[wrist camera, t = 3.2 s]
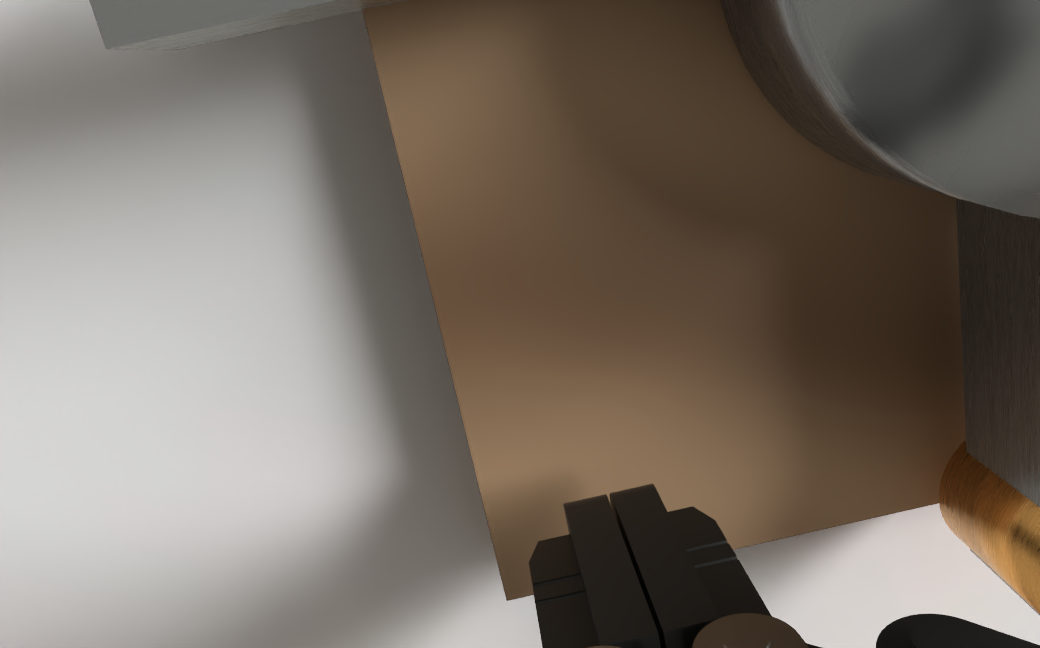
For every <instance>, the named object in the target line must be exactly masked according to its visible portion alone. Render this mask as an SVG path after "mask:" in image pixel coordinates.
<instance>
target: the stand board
mask: <svg viewBox="0 0 1040 648" xmlns="http://www.w3.org/2000/svg"><path fill="white" fill-rule="evenodd" d="M362 11H363V15H364V19H365V23H366V28H367V32H368V36H369V40H370V44H371V48H372V52H373V56H374V60H375V64H376V68H377V72H378V77H379V81H380V85H381V89H382V93H383V97H384V101H385V105H386V109H387V113H388V117H389V122H390V126H391V130H392V134H393V138H394V142H395V146H396V150H397V154H398V158H399V162H400V166H401V171H402V175H403V179H404V183H405V187H406V191H407V195H408V199H409V203H410V207H411V211H412V215H413V220H414V224H415V228H416V232H417V236H418V240H419V244H420V248H421V252H422V256H423V260H424V265H425V269H426V273H427V277H428V281H429V285H430V289H431V293H432V297H433V301H434V305H435V309H436V314H437V318H438V322H439V326H440V330H441V334H442V338H443V342H444V346H445V350H446V354H447V358H448V363H449V367H450V371H451V375H452V379H453V383H454V387H455V391H456V395H457V399H458V403H459V408H460V412H461V416H462V420H463V424H464V428H465V432H466V436H467V440H468V444H469V448H470V452H471V457H472V461H473V465H474V469H475V473H476V477H477V481H478V485H479V489H480V493H481V497H482V502H483V506H484V510H485V514H486V518H487V522H488V526H489V530H490V534H491V538H492V542H493V546H494V551H495V555H496V559H497V563H498V567H499V571H500V575H501V579H502V583H503V587H504V591H505V595H506V600H507V601H508V600H512V599H517V598H521V597H526V596H530V595H534V592H533V585H532V580H531V574H530V568H529V561H530V558H531V556H532V554H533V552H534V550H535V547H536V545H537V543H538V541H541V540H546V539H550V538H555V537H559V536H564V535H568V534H569V530H568V526H567V521H566V516H565V511H564V506H563V504H564V503H569V502H573V501H578V500H582V499H586V498H591V497H595V496H600V495H604V494H606V495H607V497H608V499H609V502H610V493H613V492H617V491H621V490H626V489H630V488H635V487H639V486H644V485H648V484H654V486H655V487H656V489H657V491H658V493H659V495H660V498H661V500H662V502H663V504H664V506H665V508H666V510H667V512H670V511H674V510H678V509H683V508H687V507H692V506H693V507H695V508H696V509H698V510H700V511H701V512H703V513H704V514H706V515H708V516H709V517H711V518H713V519H714V520H716V522H717V524H718V526H719V527H720V529H721V531H722V532H723V534H724V536H725V538H726V539H727V543H728V544H730V546H731V548H732V550H734V549H738V548H742V547H747V546H751V545H756V544H760V543H765V542H769V541H773V540H778V539H782V538H787V537H791V536H796V535H800V534H804V533H809V532H813V531H818V530H822V529H826V528H831V527H835V526H840V525H844V524H849V523H853V522H857V521H862V520H866V519H871V518H875V517H880V516H884V515H888V514H893V513H897V512H902V511H906V510H911V509H915V508H919V507H924V506H928V505H933V504H937V503H939V489H940V482H941V479H942V475H943V472H944V470H945V468H946V466H947V464H948V462H949V460H950V458H951V457H952V455H953V454H954V453H955V451H956V450H957V449H958V447H959V446H960V445H961V444H962V443H963V442H964V441H965V440H966V435H965V410H964V385H963V360H962V336H961V311H960V286H959V261H958V236H957V211H956V198H955V197H952V196H948V195H945V194H941V193H937V192H934V191H930V190H927V189H923V188H919V187H916V186H912V185H909V184H905V183H902V182H898V181H894V180H891V179H887V178H884V177H880V176H877V175H873V174H869V173H866V172H864V171H862V170H860V169H857V168H855V167H853V166H851V165H848V164H846V163H844V162H841V161H839V160H837V159H836V158H834V157H833V156H831V155H829V154H828V153H826V152H825V151H823V150H822V149H820V148H818V147H817V146H815V145H814V144H812V143H811V142H810V141H808V140H807V139H806V138H805V137H804V136H803V135H801V134H800V133H799V132H798V131H797V130H796V129H794V128H793V127H792V126H791V125H790V124H789V123H787V122H786V120H785V119H784V118H783V117H782V116H781V115H780V113H779V112H778V111H777V110H776V109H775V108H774V107H773V105H772V104H771V103H770V102H769V101H768V100H767V98H766V97H765V96H764V94H763V93H762V91H761V90H760V88H759V87H758V85H757V84H756V82H755V80H754V79H753V77H752V76H751V74H750V73H749V71H748V70H747V68H746V66H745V64H744V62H743V60H742V58H741V55H740V53H739V51H738V49H737V47H736V45H735V43H734V40H733V38H732V36H731V33H730V30H729V27H728V24H727V21H726V18H725V14H724V11H723V8H722V5H721V2H720V0H408V1H404V2H399V3H394V4H389V5H385V6H380V7H375V8H371V9H366V10H362ZM610 505H611V504H610Z"/></svg>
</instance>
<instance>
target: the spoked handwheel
mask: <svg viewBox="0 0 1040 648" xmlns="http://www.w3.org/2000/svg"><path fill="white" fill-rule="evenodd" d="M404 1H408V0H90V3H91V6H92V9H93V12H94V15H95V18H96V21H97V24H98V27H99V30H100V33H101V36H102V39H103V42H104V44H105V47H106V49H133V50H177V49H182V48H186V47H191V46H196V45H200V44H205V43H210V42H215V41H219V40H224V39H229V38H234V37H238V36H243V35H248V34H252V33H257V32H262V31H267V30H271V29H276V28H281V27H286V26H290V25H295V24H300V23H304V22H309V21H314V20H319V19H323V18H328V17H333V16H337V15H342V14H347V13H352V12H356V11H361V10H366V9H371V8H375V7H380V6H385V5H389V4H394V3H399V2H404ZM720 2H721V5H722V8H723V11H724V14H725V18H726V21H727V24H728V27H729V30H730V33H731V36H732V38H733V40H734V43H735V45H736V47H737V49H738V51H739V53H740V55H741V58H742V60H743V62H744V64H745V66H746V68H747V70H748V71H749V73H750V74H751V76H752V77H753V79H754V80H755V82H756V84H757V85H758V87H759V88H760V90H761V91H762V93H763V94H764V96H765V97H766V98H767V100H768V101H769V102H770V103H771V104H772V105H773V107H774V108H775V109H776V110H777V111H778V112H779V113H780V115H781V116H782V117H783V118H784V119H785V120H786V122H787V123H789V124H790V125H791V126H792V127H793V128H794V129H796V130H797V131H798V132H799V133H800V134H801V135H803V136H804V137H805V138H806V139H807V140H808V141H810V142H811V143H812V144H814V145H815V146H817V147H818V148H820V149H822V150H823V151H825V152H826V153H828V154H829V155H831V156H833V157H834V158H836V159H837V160H839V161H841V162H844V163H846V164H848V165H851V166H853V167H855V168H857V169H860V170H862V171H864V172H866V173H869V174H873V175H877V176H880V177H884V178H887V179H891V180H894V181H898V182H902V183H905V184H909V185H912V186H916V187H919V188H923V189H927V190H930V191H934V192H937V193H941V194H945V195H948V196H952V197H955V198H956V211H957V236H958V261H959V286H960V311H961V336H962V360H963V385H964V410H965V435H966V440H965V441H964V442H963V443H962V444H961V445H960V446H959V447H958V449H957V450H956V451H955V453H954V454H953V455H952V457H951V458H950V460H949V462H948V464H947V466H946V468H945V470H944V472H943V475H942V479H941V482H940V489H939V503H940V509H941V513H942V516H943V518H944V520H945V522H946V524H947V525H948V527H949V528H950V530H951V531H952V532H953V533H954V534H955V535H956V536H957V537H958V538H959V539H961V540H962V541H963V542H964V543H965V544H966V545H967V546H968V547H969V548H970V550H971V551H972V552H973V553H974V554H975V555H976V556H977V557H978V558H979V559H980V560H982V561H983V562H984V563H985V564H986V565H987V566H988V567H989V568H990V569H991V570H992V571H993V572H994V573H995V574H996V575H997V576H999V577H1000V578H1001V579H1002V580H1003V581H1004V582H1005V583H1006V584H1007V585H1008V586H1009V587H1010V588H1011V589H1012V590H1013V591H1014V592H1016V593H1017V594H1018V595H1019V596H1020V597H1021V598H1022V599H1023V600H1024V601H1025V602H1026V603H1027V604H1028V605H1029V606H1030V607H1031V608H1032V609H1034V610H1035V611H1036V612H1037V613H1038V614H1039V615H1040V0H720Z"/></svg>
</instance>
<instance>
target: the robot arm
mask: <svg viewBox="0 0 1040 648" xmlns="http://www.w3.org/2000/svg"><path fill="white" fill-rule="evenodd" d="M610 504H611V505H610ZM563 506H564V511H565V516H566V521H567V526H568V530H569V534H568V535H564V536H559V537H555V538H550V539H546V540H541V541H538V543H537V545H536V547H535V550H534V552H533V554H532V556H531V558H530V561H529V568H530V574H531V580H532V585H533V592H534V598H535V603H536V610H537V616H538V622H539V628H540V634H541V640H542V646H543V648H821V647H817V646H813V645H810V644H807V643H805V642H804V640H803V639H802V638H801V636H800V635H799V634H798V633H797V632H796V630H795V629H794V628H792V627H791V626H790V625H788V624H787V623H785V622H783V621H781V620H779V619H777V618H774V617H772V616H771V614H770V613H769V611H768V609H767V608H766V606H765V604H764V602H763V601H762V599H761V597H760V596H759V594H758V592H757V591H756V589H755V587H754V585H753V584H752V582H751V580H750V579H749V577H748V575H747V573H746V572H745V570H744V568H743V567H742V565H741V563H740V561H739V560H737V558H736V555H735V553H734V551H733V550H732V548H731V546H730V544H728V543H727V539H726V538H725V536H724V534H723V532H722V531H721V529H720V527H719V526H718V524H717V522H716V520H714V519H713V518H711V517H709V516H708V515H706V514H704V513H703V512H701V511H700V510H698V509H696V508H695V507H693V506H692V507H687V508H683V509H678V510H674V511H670V512H667V510H666V508H665V506H664V504H663V502H662V500H661V498H660V495H659V493H658V491H657V489H656V487H655V486H654V484H648V485H644V486H639V487H635V488H630V489H626V490H621V491H617V492H613V493H610V502H609V499H608V497H607V495H606V494H604V495H600V496H595V497H591V498H586V499H582V500H578V501H573V502H569V503H564V504H563ZM876 648H1040V645H1037V644H1034V643H1031V642H1028V641H1025V640H1022V639H1019V638H1016V637H1013V636H1010V635H1007V634H1004V633H1001V632H998V631H995V630H993V629H990V628H987V627H984V626H981V625H978V624H975V623H972V622H969V621H966V620H963V619H960V618H956V617H952V616H947V615H940V614H918V615H911V616H907V617H904V618H901V619H898V620H896V621H894V622H892V623H891V624H889V625H888V626H886V627H885V628H884V629H883V630H882V631H881V633H880V635H879V636H878V639H877V642H876Z"/></svg>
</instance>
